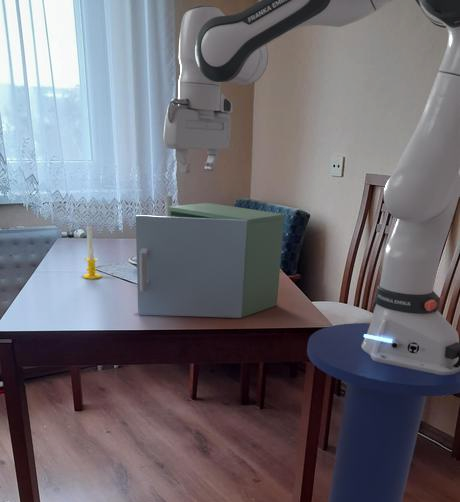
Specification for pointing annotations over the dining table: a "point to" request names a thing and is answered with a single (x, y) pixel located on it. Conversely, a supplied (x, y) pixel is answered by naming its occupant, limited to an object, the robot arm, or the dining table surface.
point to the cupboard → (250, 249)
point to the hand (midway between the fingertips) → (197, 171)
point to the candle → (91, 257)
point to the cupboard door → (190, 266)
